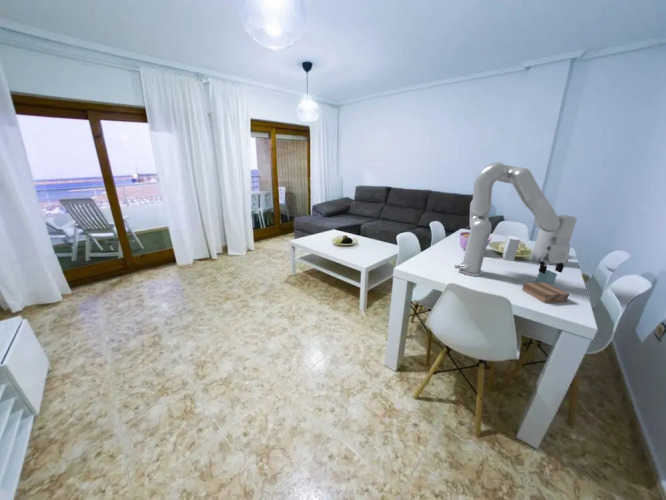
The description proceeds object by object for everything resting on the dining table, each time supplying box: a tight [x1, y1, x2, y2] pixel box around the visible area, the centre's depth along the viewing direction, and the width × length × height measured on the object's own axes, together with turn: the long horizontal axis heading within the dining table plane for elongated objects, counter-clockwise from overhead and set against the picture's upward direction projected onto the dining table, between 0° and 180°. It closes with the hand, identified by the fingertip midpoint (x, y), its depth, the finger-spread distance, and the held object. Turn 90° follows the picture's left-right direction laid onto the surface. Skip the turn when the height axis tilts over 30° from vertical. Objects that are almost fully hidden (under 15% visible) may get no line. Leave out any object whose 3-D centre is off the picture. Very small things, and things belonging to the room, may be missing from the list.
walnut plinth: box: [521, 281, 570, 304], centre depth 121 cm, size 12×12×4 cm
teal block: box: [535, 269, 558, 286], centre depth 132 cm, size 5×5×7 cm
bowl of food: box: [459, 231, 492, 251], centre depth 179 cm, size 20×20×12 cm
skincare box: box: [501, 235, 521, 262], centre depth 166 cm, size 8×6×15 cm
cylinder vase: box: [530, 228, 553, 265], centre depth 161 cm, size 12×12×25 cm
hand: (550, 272), depth 130 cm, fingers open, 9 cm apart
